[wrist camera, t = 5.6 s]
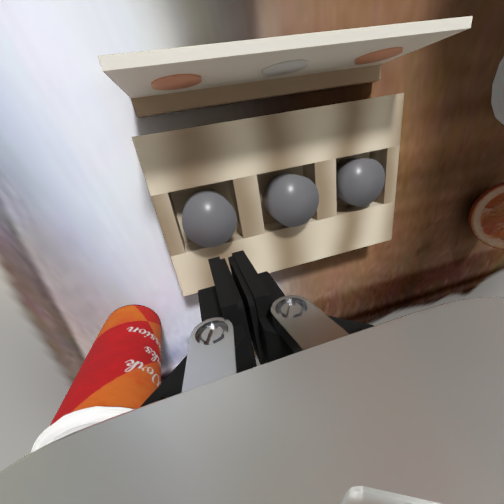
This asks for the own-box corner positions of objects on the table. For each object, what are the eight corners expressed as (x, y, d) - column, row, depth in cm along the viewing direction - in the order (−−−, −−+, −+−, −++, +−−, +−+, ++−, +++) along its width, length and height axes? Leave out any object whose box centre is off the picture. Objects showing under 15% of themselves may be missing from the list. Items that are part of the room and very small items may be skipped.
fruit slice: (479, 238, 37) (521, 250, 32) (445, 237, 35) (483, 250, 30) (506, 179, 34) (556, 184, 29) (470, 174, 32) (517, 179, 27)
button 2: (368, 154, 26) (386, 154, 23) (367, 196, 27) (383, 201, 25) (329, 162, 25) (344, 163, 23) (330, 205, 27) (344, 211, 24)
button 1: (226, 184, 22) (231, 189, 20) (235, 231, 24) (240, 240, 22) (175, 195, 21) (175, 201, 19) (189, 242, 23) (190, 252, 21)
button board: (376, 99, 25) (404, 92, 22) (370, 230, 31) (391, 239, 28) (138, 138, 21) (131, 137, 18) (183, 279, 27) (183, 296, 24)
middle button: (304, 168, 23) (317, 171, 21) (307, 214, 25) (320, 220, 23) (259, 178, 23) (268, 181, 20) (266, 224, 24) (274, 232, 22)
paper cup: (175, 345, 30) (172, 486, 18) (105, 359, 28) (46, 527, 16) (164, 289, 27) (151, 412, 15) (84, 301, 25) (-8, 452, 13)
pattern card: (374, 43, 23) (476, -10, 15) (372, 82, 24) (466, 51, 16) (125, 73, 19) (86, 23, 11) (138, 117, 21) (112, 99, 13)
